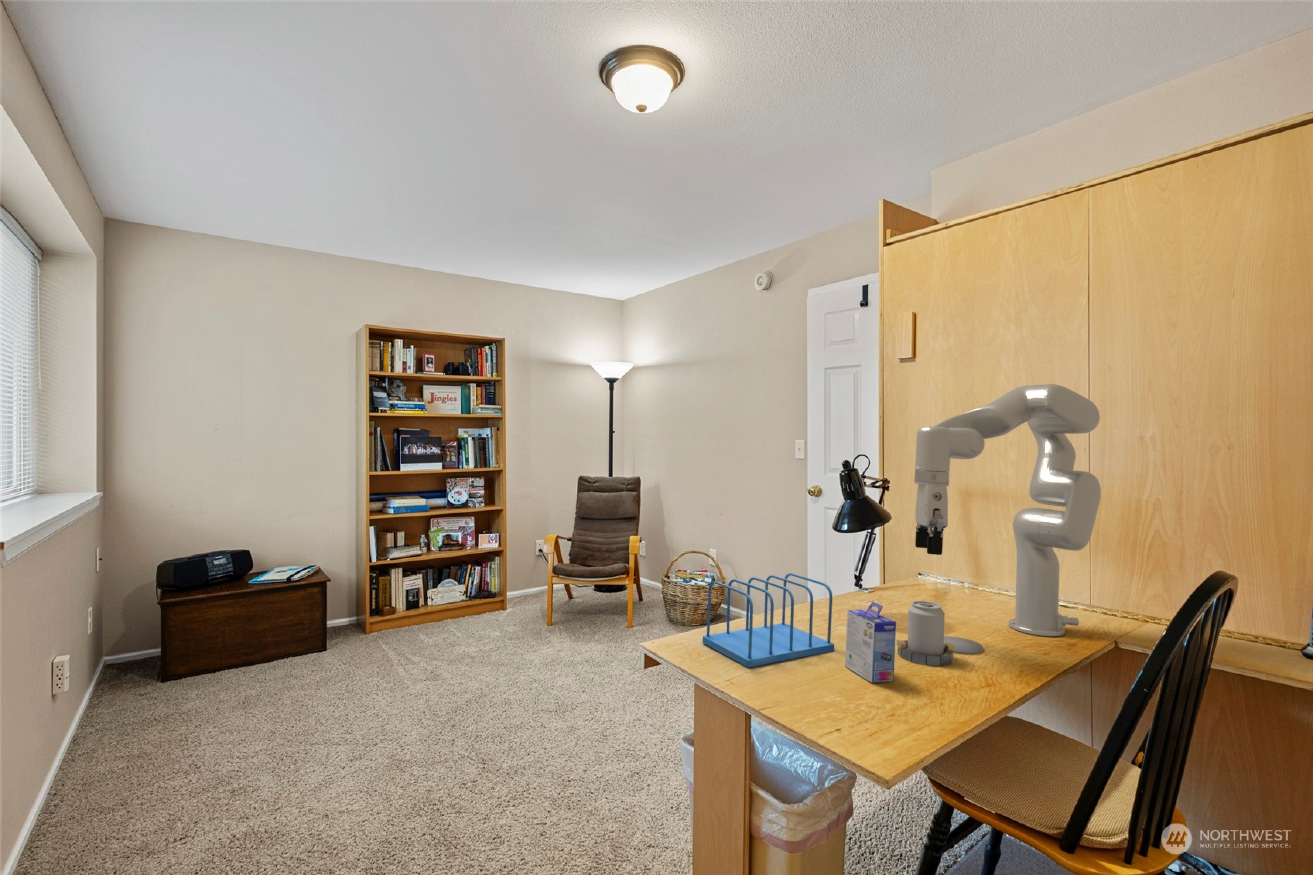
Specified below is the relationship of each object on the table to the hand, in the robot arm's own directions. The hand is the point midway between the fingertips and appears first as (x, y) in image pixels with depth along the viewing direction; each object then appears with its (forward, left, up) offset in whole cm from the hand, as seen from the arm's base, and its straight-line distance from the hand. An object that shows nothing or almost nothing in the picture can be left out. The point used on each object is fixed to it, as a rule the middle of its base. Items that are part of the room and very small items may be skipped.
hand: (928, 550), depth 147 cm
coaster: (-7, -1, -23) cm, 24 cm away
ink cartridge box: (+18, +21, -23) cm, 36 cm away
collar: (+3, +8, -23) cm, 24 cm away
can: (+3, +8, -23) cm, 24 cm away
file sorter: (+37, +8, -23) cm, 45 cm away
